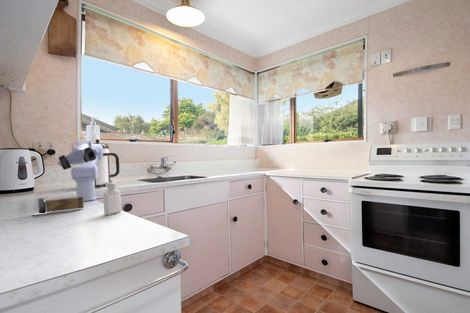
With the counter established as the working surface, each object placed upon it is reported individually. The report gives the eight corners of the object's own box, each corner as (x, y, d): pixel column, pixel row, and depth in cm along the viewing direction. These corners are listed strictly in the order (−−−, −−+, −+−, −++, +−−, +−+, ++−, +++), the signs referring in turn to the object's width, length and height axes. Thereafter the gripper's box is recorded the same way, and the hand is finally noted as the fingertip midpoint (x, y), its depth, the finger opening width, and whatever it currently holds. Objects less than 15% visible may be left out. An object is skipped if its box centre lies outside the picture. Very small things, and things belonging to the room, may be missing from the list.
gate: (46, 212, 88) (45, 201, 88) (47, 211, 90) (46, 200, 89) (83, 207, 93) (82, 197, 93) (83, 207, 94) (83, 196, 94)
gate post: (36, 212, 89) (35, 198, 89) (52, 211, 92) (51, 196, 91) (31, 216, 85) (30, 200, 85) (49, 214, 87) (48, 198, 87)
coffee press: (106, 187, 147) (104, 138, 146) (80, 188, 147) (78, 139, 146) (120, 183, 164) (118, 139, 163) (97, 184, 165) (95, 140, 164)
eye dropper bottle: (122, 212, 85) (121, 179, 85) (105, 215, 82) (103, 180, 82) (120, 210, 89) (118, 178, 89) (103, 213, 86) (101, 179, 85)
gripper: (57, 150, 100) (47, 161, 88) (94, 139, 104) (89, 147, 92) (66, 165, 103) (57, 177, 91) (101, 153, 107) (98, 163, 95)
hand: (74, 163), depth 92 cm, fingers open, 7 cm apart
